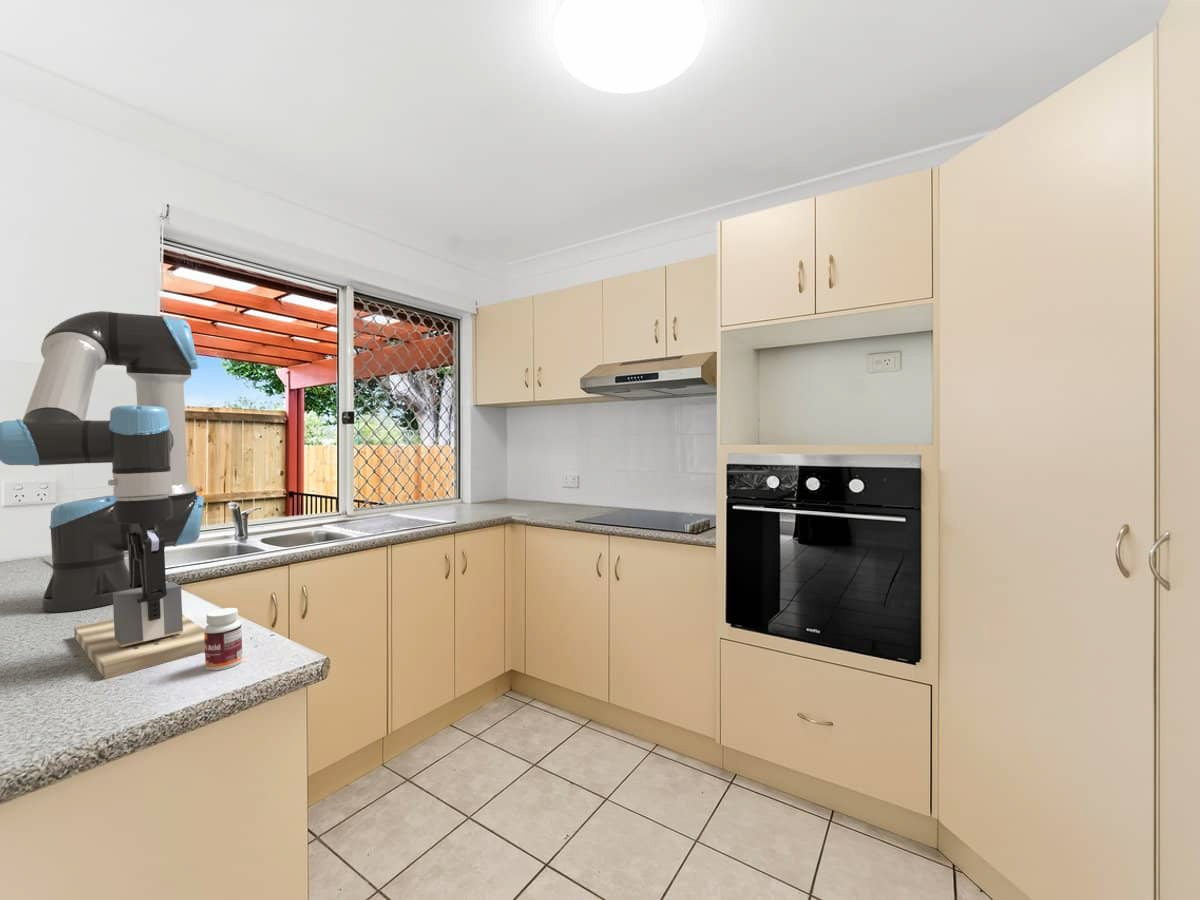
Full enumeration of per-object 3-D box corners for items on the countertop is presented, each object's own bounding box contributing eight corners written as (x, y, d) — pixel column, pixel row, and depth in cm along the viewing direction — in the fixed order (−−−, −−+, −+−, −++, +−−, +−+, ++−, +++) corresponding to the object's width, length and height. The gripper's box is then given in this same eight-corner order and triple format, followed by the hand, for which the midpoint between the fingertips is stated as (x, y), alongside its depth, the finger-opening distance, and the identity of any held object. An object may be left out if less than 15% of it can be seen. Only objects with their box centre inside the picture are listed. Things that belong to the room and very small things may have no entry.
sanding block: (121, 647, 85) (119, 597, 85) (114, 640, 88) (112, 592, 88) (182, 632, 91) (180, 586, 91) (174, 626, 95) (173, 581, 94)
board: (74, 638, 97) (74, 626, 97) (171, 616, 108) (170, 606, 108) (104, 679, 79) (104, 665, 79) (216, 648, 90) (215, 636, 90)
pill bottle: (198, 669, 82) (195, 615, 82) (229, 656, 87) (226, 605, 86) (219, 673, 80) (217, 618, 80) (249, 660, 85) (247, 608, 85)
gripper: (102, 497, 92) (108, 630, 93) (125, 503, 81) (132, 654, 81) (158, 493, 98) (163, 618, 98) (186, 498, 87) (192, 639, 87)
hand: (149, 634), depth 90 cm, fingers closed on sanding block, 5 cm apart
